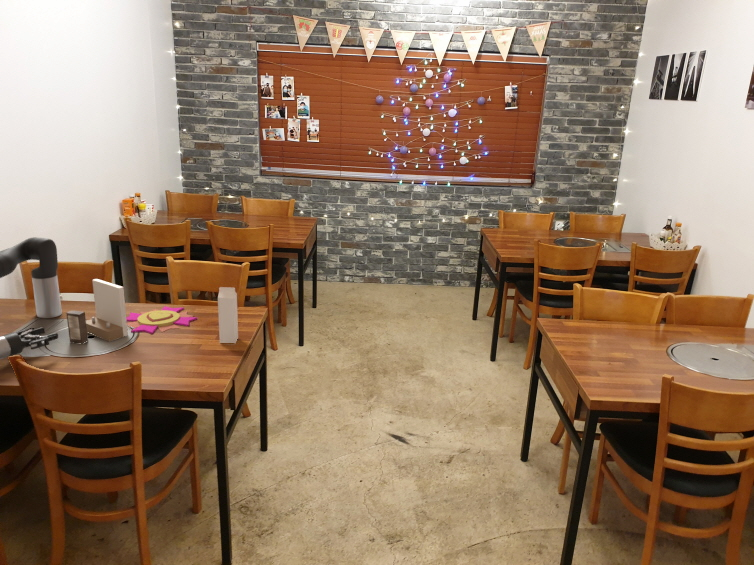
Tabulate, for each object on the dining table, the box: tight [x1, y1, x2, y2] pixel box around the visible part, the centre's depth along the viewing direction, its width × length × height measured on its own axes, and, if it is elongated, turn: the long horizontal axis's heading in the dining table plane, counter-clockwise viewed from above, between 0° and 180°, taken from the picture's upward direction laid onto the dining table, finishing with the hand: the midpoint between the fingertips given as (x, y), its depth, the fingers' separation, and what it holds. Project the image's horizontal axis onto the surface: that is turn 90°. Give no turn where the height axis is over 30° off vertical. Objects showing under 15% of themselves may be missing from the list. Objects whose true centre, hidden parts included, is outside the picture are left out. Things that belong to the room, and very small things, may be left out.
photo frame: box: [65, 310, 89, 345], centre depth 220 cm, size 6×3×12 cm, turn 78°
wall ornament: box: [126, 305, 198, 335], centre depth 246 cm, size 30×2×30 cm
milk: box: [217, 286, 239, 344], centre depth 225 cm, size 6×6×22 cm
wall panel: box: [86, 278, 129, 342], centre depth 228 cm, size 17×8×20 cm, turn 58°
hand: (50, 332), depth 212 cm, fingers open, 8 cm apart
